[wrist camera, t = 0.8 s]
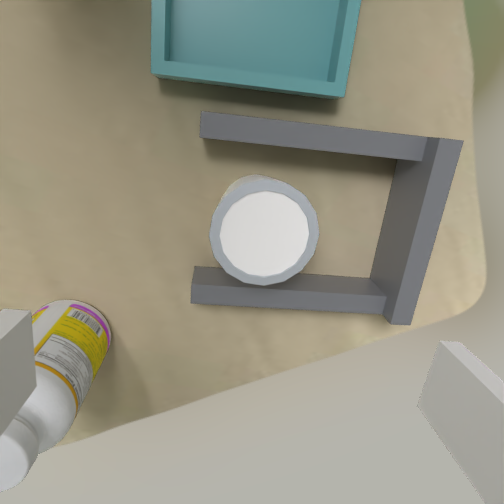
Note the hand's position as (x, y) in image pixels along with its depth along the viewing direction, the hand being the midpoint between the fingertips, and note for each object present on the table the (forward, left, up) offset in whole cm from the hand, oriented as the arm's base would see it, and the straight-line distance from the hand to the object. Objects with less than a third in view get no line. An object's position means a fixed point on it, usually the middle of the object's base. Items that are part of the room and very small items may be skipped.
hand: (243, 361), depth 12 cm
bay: (-1, +6, -18) cm, 19 cm away
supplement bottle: (+11, -13, -18) cm, 25 cm away
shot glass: (-1, +2, -18) cm, 19 cm away
